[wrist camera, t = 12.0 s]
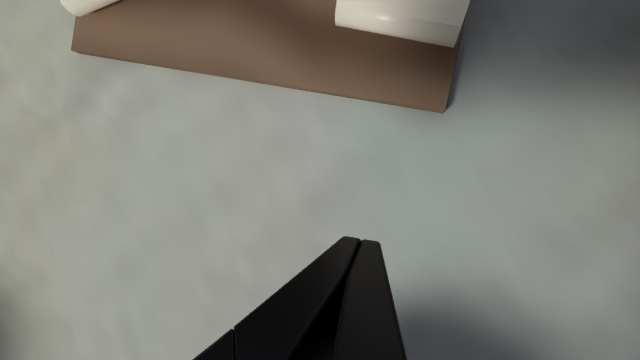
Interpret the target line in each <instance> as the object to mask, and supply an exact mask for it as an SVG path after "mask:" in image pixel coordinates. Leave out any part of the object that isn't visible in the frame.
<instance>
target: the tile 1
mask: <svg viewBox="0 0 640 360" xmlns="http://www.w3.org/2000/svg"><path fill="white" fill-rule="evenodd" d="M60 1H61V3H62V4H63V6H64V7H65V8H66V9H67V10H68V11H69V12H70V13H72V14H73V15H75V16H78V17H81V16H83V15H86V14H88V13H90V12H93V11H95V10H97V9H100V8H102V7H105V6H107V5H109V4H112V3H114V2H117V1H119V0H60Z"/></svg>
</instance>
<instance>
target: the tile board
mask: <svg viewBox="0 0 640 360" xmlns="http://www.w3.org/2000/svg"><path fill="white" fill-rule="evenodd" d="M336 2H337V0H119V1H117V2H114V3H112V4H109V5H107V6H105V7H102V8H100V9H97V10H95V11H93V12H90V13H88V14H86V15H83V16H81V17H78V16H76V19H75V26H74V33H73V40H72V47H71V50H72V51H74V52H77V53H80V54H86V55H92V56H98V57H104V58H110V59H117V60H123V61H129V62H135V63H141V64H147V65H153V66H159V67H165V68H171V69H177V70H183V71H190V72H196V73H202V74H208V75H214V76H220V77H226V78H232V79H238V80H244V81H250V82H256V83H263V84H269V85H275V86H281V87H287V88H293V89H299V90H305V91H311V92H317V93H323V94H329V95H336V96H342V97H348V98H354V99H360V100H366V101H372V102H378V103H384V104H390V105H396V106H402V107H409V108H415V109H421V110H427V111H433V112H439V113H444V112H445V109H446V104H447V100H448V95H449V90H450V86H451V81H452V77H453V72H454V67H455V63H456V58H457V53H458V49H459V44H460V40H461V35H462V30H463V26H464V21H465V17H464V20H463V23H462V26H461V29H460V32H459V35H458V38H457V41H456V43H455V45H454V47H453V48H452V47H447V46H441V45H436V44H431V43H425V42H420V41H415V40H410V39H404V38H399V37H394V36H389V35H383V34H378V33H373V32H368V31H362V30H357V29H352V28H347V27H341V26H336V24H335V9H336ZM465 16H466V15H465Z"/></svg>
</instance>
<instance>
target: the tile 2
mask: <svg viewBox="0 0 640 360" xmlns="http://www.w3.org/2000/svg"><path fill="white" fill-rule="evenodd" d="M469 3H470V0H337V2H336V9H335V24H336V26H341V27H347V28H352V29H357V30H362V31H368V32H373V33H378V34H383V35H389V36H394V37H399V38H404V39H410V40H415V41H420V42H425V43H431V44H436V45H441V46H447V47H452V48H453V47H454V45H455V43H456V41H457V38H458V35H459V32H460V29H461V26H462V23H463V20H464V17H465V15H466V12H467V9H468V6H469Z"/></svg>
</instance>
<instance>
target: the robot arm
mask: <svg viewBox="0 0 640 360" xmlns="http://www.w3.org/2000/svg"><path fill="white" fill-rule="evenodd" d="M193 360H407V357H406V352H405V348H404V344H403V340H402V335H401V331H400V327H399V322H398V318H397V314H396V310H395V305H394V301H393V297H392V292H391V288H390V284H389V280H388V275H387V271H386V267H385V262H384V258H383V254H382V250H381V245H380V243H379V242H377V241H372V240H366V239H364V240H362V241H361V240H360V239H359V238H354V237H348V236H344V237H342V238H341V239H340V240H339V241H337V242H336V243H335V244H334V245H332V246H331V247H330V248H329V249H328V250H326V251H325V252H324V253H323V254H322V255H320V256H319V257H318V258H317V259H315V260H314V261H313V262H312V263H311V264H309V265H308V266H307V267H306V268H305V269H303V270H302V271H301V272H300V273H298V274H297V275H296V276H295V277H294V278H292V279H291V280H290V281H289V282H288V283H286V284H285V285H284V286H283V287H281V288H280V289H279V290H278V291H277V292H275V293H274V294H273V295H272V296H271V297H269V298H268V299H267V300H266V301H264V302H263V303H262V304H261V305H260V306H258V307H257V308H256V309H255V310H254V311H252V312H251V313H250V314H249V315H247V316H246V317H245V318H244V319H243V320H241V321H240V322H239V323H238V324H237V325H235V326H234V330H233V329H230V330H229V331H228V332H227V333H225V334H224V335H223V336H222V337H221V338H219V339H218V340H217V341H216V342H214V343H213V344H212V345H211V346H209V347H208V348H207V349H205V350H204V351H203V352H202V353H200V354H199V355H198V356H196V357H195V358H194V359H193Z"/></svg>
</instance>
